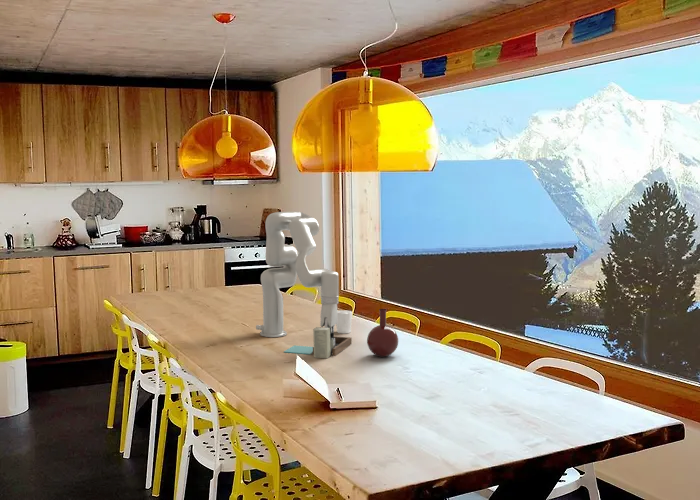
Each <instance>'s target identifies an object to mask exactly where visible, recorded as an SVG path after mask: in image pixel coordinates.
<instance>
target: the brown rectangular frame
mask: <svg viewBox="0 0 700 500" xmlns="http://www.w3.org/2000/svg"><path fill="white" fill-rule="evenodd" d="M334 338H335V343H340V344H339V345H337V346H335V348H333V349H332V354H331V356H332V357H336V356H337V355H339V354H340V353H341V352H343V351H344V350H346V349H347V348H348V347H350V346H351V345H352V342H353V341H352V339H353V338H352V337H349V336H348V337H347V336H338V335H337V336H336V335H334ZM312 347H313V353H312V355H314V346H312Z"/></svg>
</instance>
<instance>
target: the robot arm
mask: <svg viewBox="0 0 700 500" xmlns="http://www.w3.org/2000/svg"><path fill="white" fill-rule="evenodd" d="M283 231H289V233H290V237H291V239H292V241H293V244H294V245H295V246H293V245H291V244H285V241H286V237H285V234H284V232H283ZM319 232H320V224H319V222H318V220H317V219H316V218H315V217H314V216H311V215H309V214H306V213H304V212H303V211H302V212H301V211H276V212H272V213H270V214H269V215H267V217H266V219H265V233H266V241H265V242H266V243H265V255H264V256H265V262H266V264H267V265H268V266H270V267H273V268H268V269H266V270H264V271H263V272H262V273H261V274H260V283H261V289H262V309H263V310H262V315H263V316H262V321H263V324H256V325H255V329H256V330H257V331H259V330H260V333H259V335H260V336H261V337H265V338H279V337H280V338H281V337H284V336H286V335H287V334H288V332H287V331H286V330H284V296H283V294H282V292H281V290H280V289H282V288H289V287H293V286H294V285H296V282H297V278H298V280H299V281H300V284H301V285H302V286H303V287H305V288H315V287H320V303H321V307H320V308H321V310H320V322H319V323H320V327H323V328H330V338H334V336H335V326H336V324H337V319H338V314H337V311H338V304H339V303H340V302H339V293H340V291H339V281H340V280H339V276H340V275H339V273H338V272H337V271H334V270H329V269H328V268H318V269H315V268H314V269H309V268H308V264H307V263H306V257H308V256H310V255H312V254H313V253H314V252H315V251H316V249H317V245H316V242H315V240H314V238H313V236H316V235H318V234H319ZM280 266H283V267H280Z"/></svg>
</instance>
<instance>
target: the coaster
mask: <svg viewBox="0 0 700 500" xmlns="http://www.w3.org/2000/svg"><path fill="white" fill-rule="evenodd" d="M313 347H314V346H308V345H307V346H305V345H304V346H303V345H292V346H290V347H288V348H287V349H285V350H283V353H285V354H287V353H288V354H296V355H297V354H298V355H302V354H303V355H313Z"/></svg>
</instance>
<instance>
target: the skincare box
mask: <svg viewBox="0 0 700 500" xmlns="http://www.w3.org/2000/svg"><path fill="white" fill-rule="evenodd" d="M312 332H313V333H312V334H313V335H312V336H313V347H314V354H313V357H314V358H318V359H319V358H321V359H328V358H330V357H331V356H332V354H331V352H330V328H325V327H324V326H323V327H321V326H320V327H319V326H316V327H315V328H313V329H312Z"/></svg>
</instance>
